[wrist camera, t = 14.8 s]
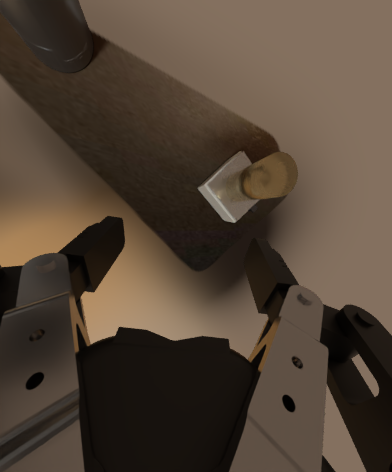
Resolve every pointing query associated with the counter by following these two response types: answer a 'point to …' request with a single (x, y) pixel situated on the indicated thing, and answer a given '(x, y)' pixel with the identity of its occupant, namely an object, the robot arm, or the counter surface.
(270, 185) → the disc
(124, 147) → the counter surface
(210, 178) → the white latched box
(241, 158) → the box lid
